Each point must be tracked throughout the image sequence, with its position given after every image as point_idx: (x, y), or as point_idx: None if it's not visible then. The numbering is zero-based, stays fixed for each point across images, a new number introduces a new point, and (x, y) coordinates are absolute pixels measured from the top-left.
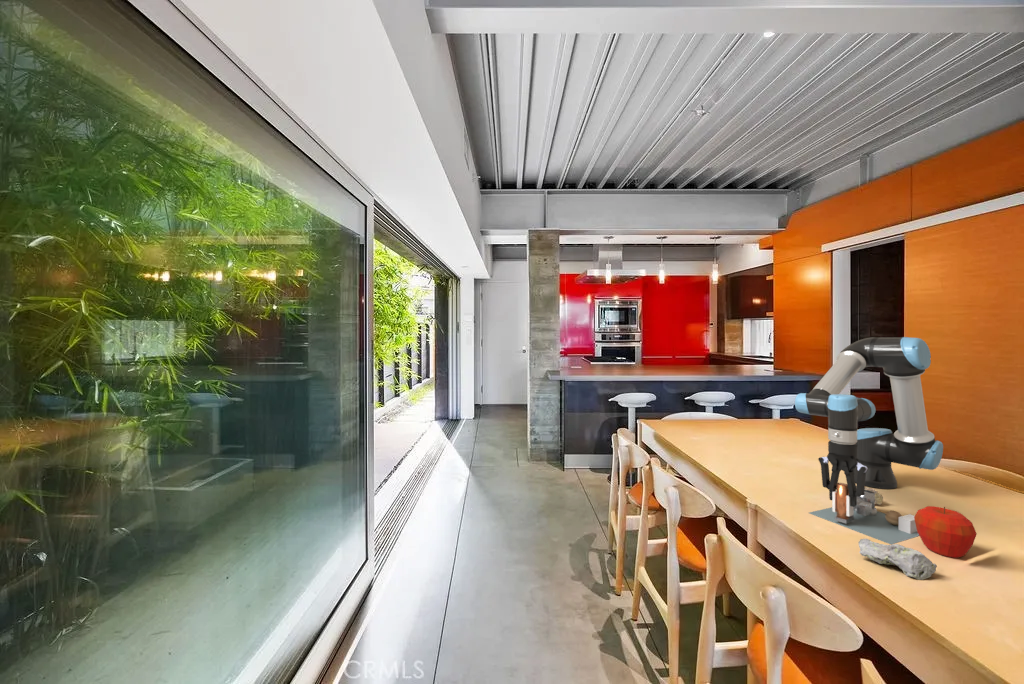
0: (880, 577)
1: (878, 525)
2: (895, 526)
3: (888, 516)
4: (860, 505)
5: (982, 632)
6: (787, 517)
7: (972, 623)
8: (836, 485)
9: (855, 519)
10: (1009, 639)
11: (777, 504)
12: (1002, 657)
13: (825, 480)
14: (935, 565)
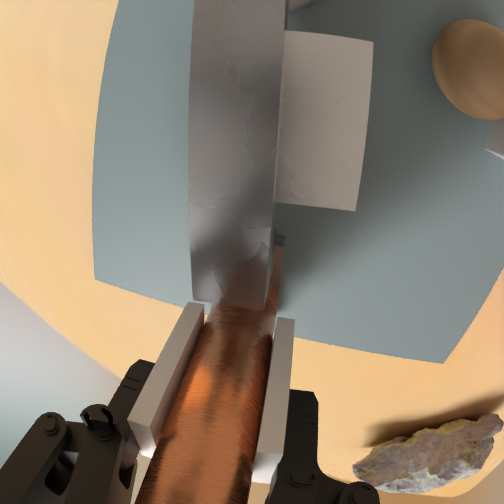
0: None
1: (402, 162)
2: None
3: (468, 107)
4: (309, 203)
5: (477, 472)
6: (91, 337)
7: None
8: (117, 477)
9: None
10: (497, 463)
11: (2, 233)
12: (472, 484)
13: (63, 498)
14: (500, 429)
